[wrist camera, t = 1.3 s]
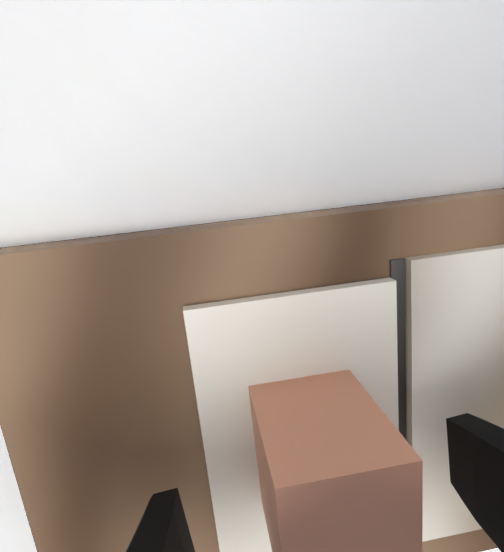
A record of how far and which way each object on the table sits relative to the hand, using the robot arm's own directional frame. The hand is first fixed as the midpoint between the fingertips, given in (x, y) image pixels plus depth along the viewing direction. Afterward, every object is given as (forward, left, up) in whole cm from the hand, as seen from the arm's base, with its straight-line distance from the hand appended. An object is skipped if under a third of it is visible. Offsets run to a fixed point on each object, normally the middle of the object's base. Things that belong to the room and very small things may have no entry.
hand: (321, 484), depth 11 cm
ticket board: (-2, 0, -4) cm, 4 cm away
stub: (0, 0, -2) cm, 2 cm away
